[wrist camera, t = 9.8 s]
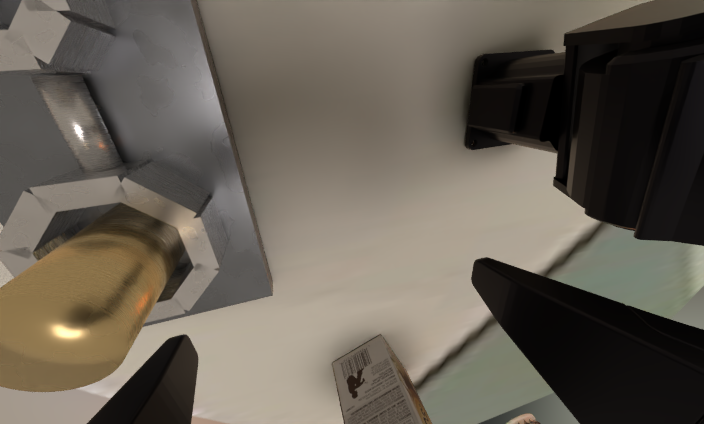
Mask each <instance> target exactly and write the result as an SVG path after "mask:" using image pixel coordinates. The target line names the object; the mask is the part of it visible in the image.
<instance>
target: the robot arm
mask: <svg viewBox="0 0 704 424" xmlns="http://www.w3.org/2000/svg"><path fill="white" fill-rule="evenodd" d="M564 46H566V52H561V53H555V52H554V51H553V50H540V51H525V52H509V53H494V54H483V55H480V56H478V57H477V59H476V61H475V65H474V74H473V82H472V91H471V99H470V108H469V116H468V125H467V134H466V142H465V145H466V148H468V149H471V150H476V149H482V148H489V147H495V146H502V145H509V144H516V145H521V146H525V147H530V148H535V149H539V150H544V151H548V152H553V153H557V166H556V176H555V177H554V180H553V186H554V187H556V188H557V189H559V190H560V191H561V192H563V193H564V194H566V195H567V196H568V197H570V198H571V199H572V200H574V201H575V202H576V203H577V204H579V205H580V206H581V207H583V208H585V214H586V215H588V216H589V217H591V218H594V219H596V220H599V221H601V222H604V223H607V224H610V225H613V226H616V227H620V228H623V229H627V230H633V231H635V233H634V237H635V238H637V239H640V240H658V241H674V242H681V243H688V244H695V245H702V246H704V0H653V1H650V2H646V3H642V4H639V5H636V6H634V7H631V8H629V9H626V10H623V11H621V12H618V13H616V14H613V15H611V16H608V17H606V18H603V19H600V20H598V21H595V22H593V23H590V24H588V25H585V26H583V27H580V28H577V29H575V30H572V31H570V32H567V33H565V34H564ZM482 60H484V65H483V66H482ZM473 141H474V143H473V145H471V144H472V142H473ZM471 280H472V284H473V286H474V287H475V289H476V290H477V292H478V293H479V295H480V296H481V298H482V299H483V301H484V302H485V304H486V305H487V307H488V308H489V310H490V311H491V313H492V314H493V316H494V317H495V319H496V320H497V321H498V323H499V324H500V325H501V327H502V328H503V329H504V331H505V332H506V333H507V334H508V336H509V337H510V338H511V339H512V341H513V342H514V343H515V344H516V345H517V347H518V348H519V349H520V350H521V352H522V353H523V354H524V355H525V357H526V358H527V359H528V360H529V361H530V363H531V364H532V365H533V366H534V368H535V369H536V370H537V371H538V373H539V374H540V375H541V376H542V377H543V379H544V380H545V381H546V382H547V384H548V385H549V386H550V387H551V389H552V390H553V391H554V392H555V393H556V395H557V396H558V397H559V398H560V400H561V401H562V402H563V403H564V405H565V406H566V407H567V408H568V409H569V411H570V412H571V413H572V414H573V416H574V417H575V418H576V419H577V421H578V422H579V423H580V424H704V330H702V329H699V328H696V327H693V326H689V325H686V324H683V323H680V322H676V321H673V320H670V319H667V318H664V317H661V316H658V315H655V314H652V313H649V312H646V311H643V310H640V309H637V308H634V307H632V306H628V305H627V306H626V305H625V304H623V303H620V302H617V301H614V300H611V299H608V298H605V297H602V296H599V295H596V294H593V293H590V292H587V291H585V290H582V289H579V288H576V287H573V286H570V285H567V284H564V283H561V282H558V281H555V280H552V279H549V278H546V277H544V276H541V275H538V274H535V273H532V272H529V271H526V270H523V269H520V268H517V267H514V266H511V265H508V264H505V263H503V262H500V261H497V260H494V259H491V258H487V257H485V258H481V259H477V260H475V262H474V265H473V271H472V277H471ZM197 369H198V354H197V352H196V350H195V348H194V346H193V344H192V342H191V340H190V338H189V337H188V336H187V335H179V336H175V337H172V338H169V339H168V340H167V341H165V343H164V344H163V345H162V346H161V347H160V348H159V349H158V350H157V351H156V352H155V353H154V354H153V355H152V356H151V357H150V358H149V359H148V360H147V361H146V362H145V363H144V364H143V366H142V367H141V368H140V369H139V370H138V371H137V372H136V373H135V374H134V375H133V376H132V377H131V378H130V379H129V380H128V381H127V382H126V383H125V384H124V385H123V386H122V387H121V389H120V390H119V391H118V392H117V393H116V394H115V395H114V396H113V397H112V398H111V399H110V400H109V401H108V402H107V403H106V404H105V405H104V406H103V407H102V408H101V410H99V412H98V413H97V414H96V415H95V416H94V417H93V418H92V419H91V420H90V421H89V422H88V423H87V424H191V418H192V412H193V403H194V395H195V386H196V378H197Z"/></svg>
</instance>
